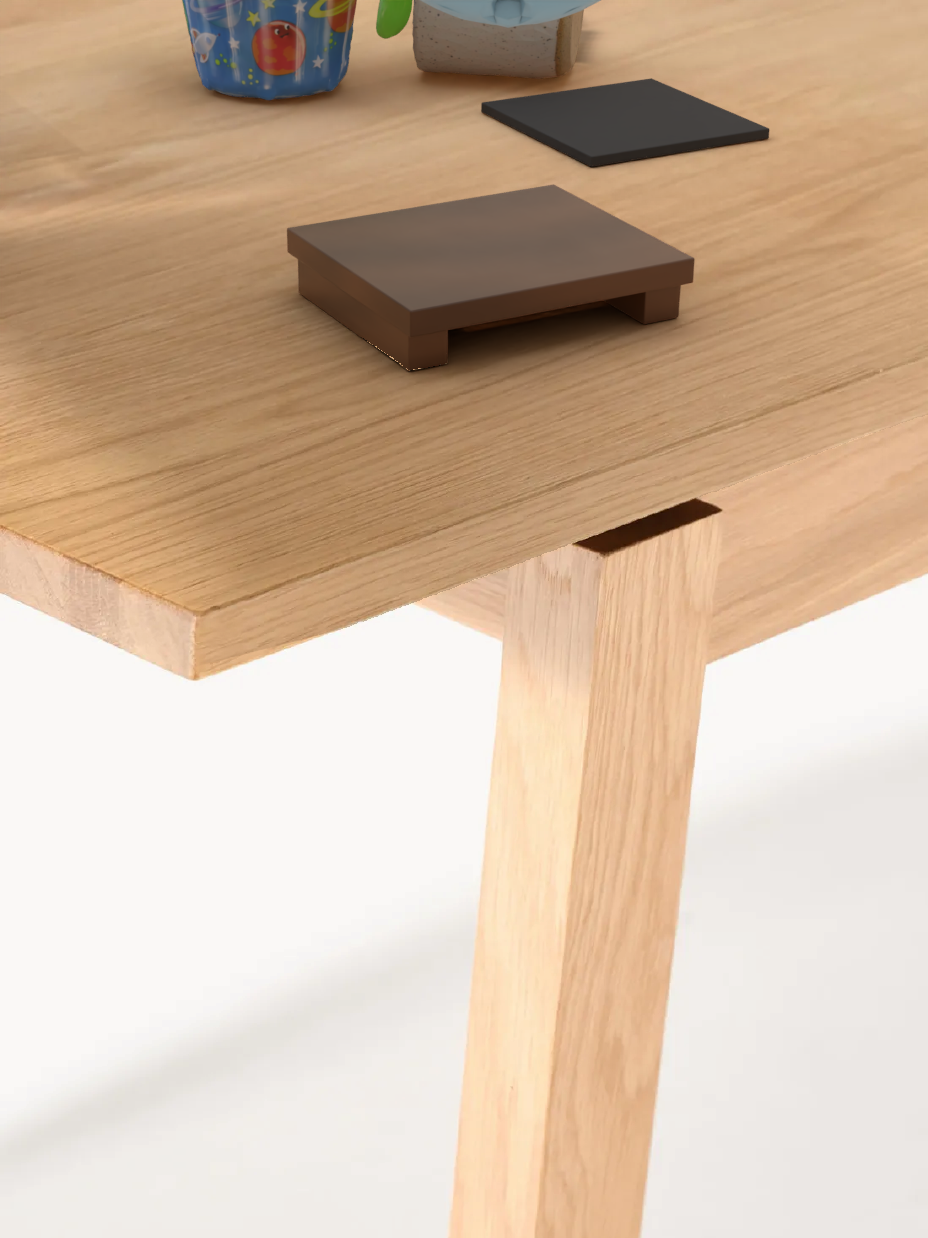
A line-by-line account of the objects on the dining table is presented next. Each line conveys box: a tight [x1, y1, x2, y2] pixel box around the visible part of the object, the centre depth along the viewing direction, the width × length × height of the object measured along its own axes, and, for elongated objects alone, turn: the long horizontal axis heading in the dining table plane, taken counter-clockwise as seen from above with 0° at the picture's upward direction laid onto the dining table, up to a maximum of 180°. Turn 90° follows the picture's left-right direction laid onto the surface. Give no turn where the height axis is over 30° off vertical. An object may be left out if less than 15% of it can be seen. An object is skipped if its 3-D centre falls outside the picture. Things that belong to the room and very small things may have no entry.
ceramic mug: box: [411, 0, 585, 79], centre depth 112 cm, size 11×8×8 cm
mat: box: [480, 78, 770, 168], centre depth 104 cm, size 10×10×1 cm
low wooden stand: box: [286, 184, 696, 370], centre depth 82 cm, size 10×12×2 cm
